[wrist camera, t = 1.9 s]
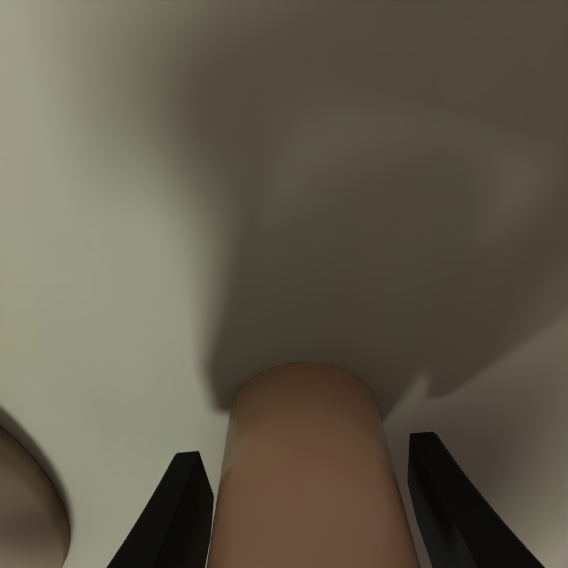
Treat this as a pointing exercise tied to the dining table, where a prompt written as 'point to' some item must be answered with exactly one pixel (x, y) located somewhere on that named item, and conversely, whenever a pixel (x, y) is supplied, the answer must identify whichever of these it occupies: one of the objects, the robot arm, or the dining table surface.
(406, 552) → the terracotta bead
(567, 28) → the dining table surface
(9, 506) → the ring board
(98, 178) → the dining table surface
